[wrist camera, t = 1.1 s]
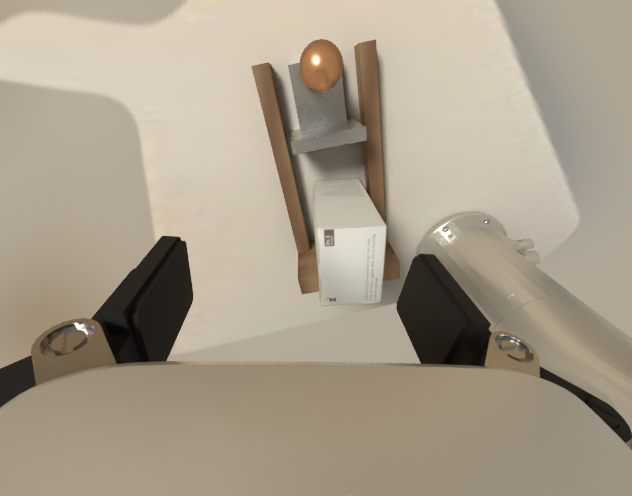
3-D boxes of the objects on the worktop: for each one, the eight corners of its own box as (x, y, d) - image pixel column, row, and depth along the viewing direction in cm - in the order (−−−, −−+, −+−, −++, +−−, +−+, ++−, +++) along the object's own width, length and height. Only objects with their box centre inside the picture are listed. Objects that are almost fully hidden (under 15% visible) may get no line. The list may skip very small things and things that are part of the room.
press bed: (370, 43, 27) (393, 28, 20) (382, 244, 39) (399, 277, 32) (255, 67, 28) (240, 61, 21) (301, 258, 40) (302, 294, 33)
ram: (346, 48, 27) (370, 28, 18) (354, 129, 31) (377, 148, 22) (278, 62, 28) (266, 50, 18) (294, 141, 32) (291, 165, 22)
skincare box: (356, 233, 38) (384, 307, 26) (313, 236, 38) (320, 311, 25) (358, 173, 34) (393, 226, 21) (310, 176, 34) (315, 231, 21)
